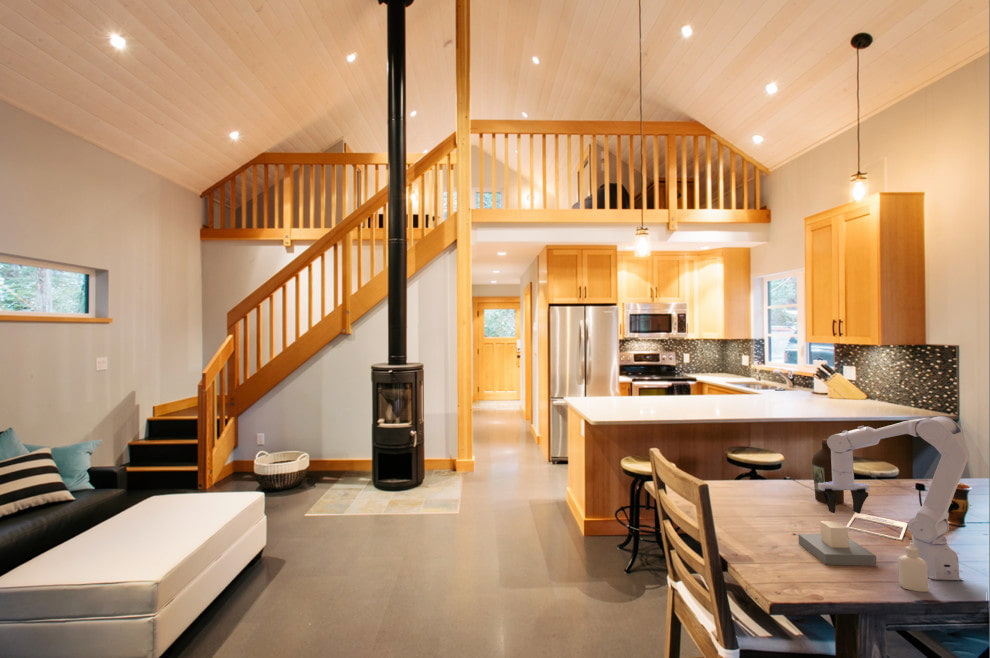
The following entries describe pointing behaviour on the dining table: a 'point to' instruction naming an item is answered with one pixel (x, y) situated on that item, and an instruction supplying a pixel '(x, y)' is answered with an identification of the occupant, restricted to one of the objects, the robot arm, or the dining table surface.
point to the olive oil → (824, 473)
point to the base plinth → (837, 551)
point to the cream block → (834, 534)
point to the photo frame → (881, 521)
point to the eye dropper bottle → (913, 570)
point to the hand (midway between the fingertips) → (844, 512)
